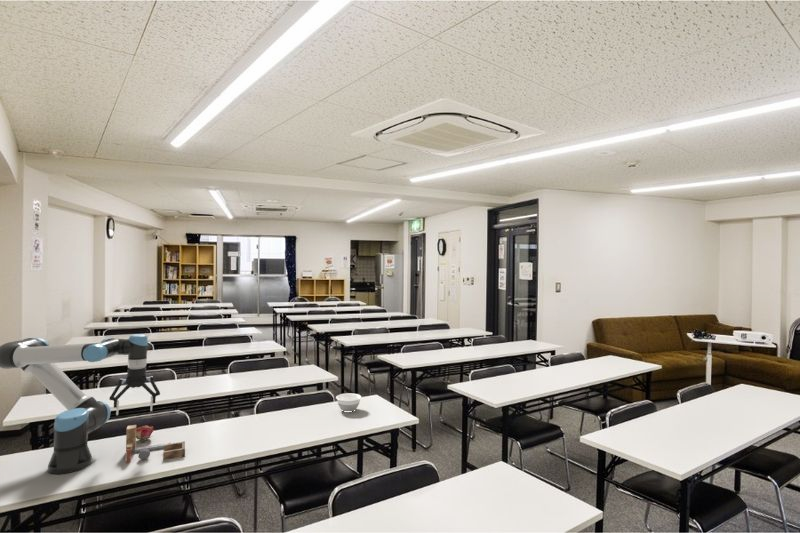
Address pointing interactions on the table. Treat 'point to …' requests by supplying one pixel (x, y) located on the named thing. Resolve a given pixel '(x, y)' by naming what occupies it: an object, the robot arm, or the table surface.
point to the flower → (144, 432)
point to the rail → (149, 448)
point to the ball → (144, 454)
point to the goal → (174, 450)
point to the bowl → (348, 401)
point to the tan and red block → (130, 441)
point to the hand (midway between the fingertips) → (134, 412)
